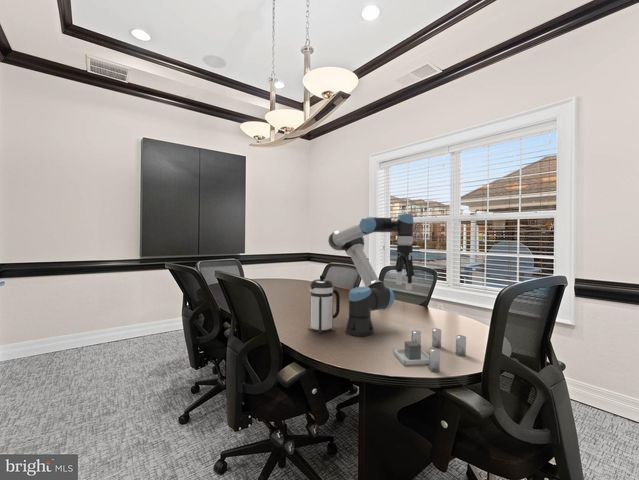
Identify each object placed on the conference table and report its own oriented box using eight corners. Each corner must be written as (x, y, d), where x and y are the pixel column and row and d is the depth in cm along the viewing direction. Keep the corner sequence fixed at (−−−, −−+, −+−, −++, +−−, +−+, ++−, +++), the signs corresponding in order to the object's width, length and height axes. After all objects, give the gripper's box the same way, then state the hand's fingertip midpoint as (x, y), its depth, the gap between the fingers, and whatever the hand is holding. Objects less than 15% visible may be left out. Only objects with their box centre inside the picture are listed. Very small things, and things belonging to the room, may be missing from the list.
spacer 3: (431, 372, 118) (432, 352, 118) (426, 368, 122) (427, 348, 122) (441, 372, 119) (442, 351, 118) (436, 367, 123) (436, 347, 122)
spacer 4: (458, 356, 133) (459, 338, 133) (453, 352, 137) (454, 335, 137) (467, 356, 134) (468, 338, 134) (462, 352, 138) (462, 334, 138)
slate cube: (409, 360, 128) (409, 345, 128) (404, 355, 133) (404, 341, 133) (420, 359, 129) (421, 345, 129) (415, 354, 134) (415, 341, 133)
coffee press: (334, 335, 159) (335, 277, 158) (304, 333, 162) (305, 276, 161) (339, 325, 176) (340, 273, 174) (312, 323, 179) (312, 272, 178)
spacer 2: (434, 348, 143) (434, 331, 142) (430, 345, 147) (430, 328, 146) (442, 347, 143) (443, 330, 143) (438, 344, 147) (438, 328, 147)
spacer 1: (413, 350, 139) (413, 333, 139) (410, 347, 143) (410, 330, 143) (422, 350, 140) (422, 333, 139) (418, 347, 144) (418, 330, 143)
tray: (404, 365, 124) (404, 361, 124) (393, 353, 136) (393, 348, 136) (433, 364, 125) (433, 359, 125) (420, 352, 138) (420, 347, 138)
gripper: (422, 246, 141) (421, 292, 142) (403, 243, 166) (402, 282, 167) (406, 246, 141) (405, 292, 142) (389, 243, 165) (388, 282, 166)
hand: (403, 286), depth 154 cm, fingers open, 13 cm apart
